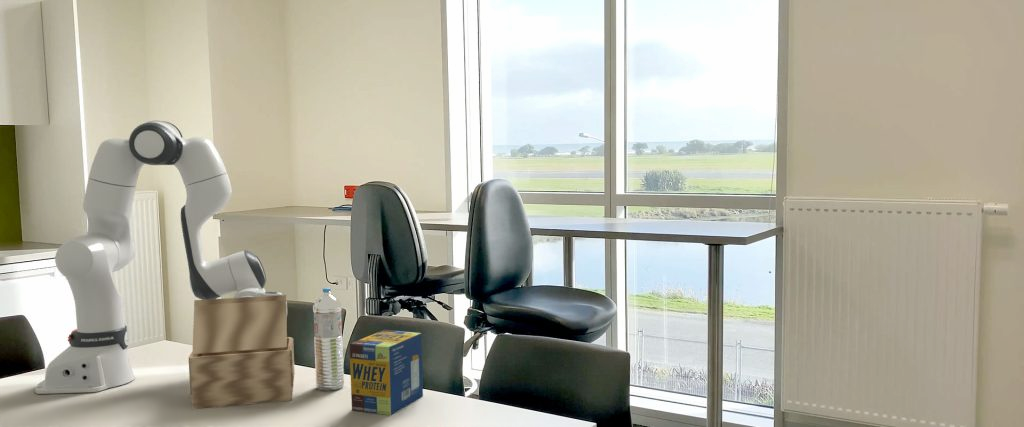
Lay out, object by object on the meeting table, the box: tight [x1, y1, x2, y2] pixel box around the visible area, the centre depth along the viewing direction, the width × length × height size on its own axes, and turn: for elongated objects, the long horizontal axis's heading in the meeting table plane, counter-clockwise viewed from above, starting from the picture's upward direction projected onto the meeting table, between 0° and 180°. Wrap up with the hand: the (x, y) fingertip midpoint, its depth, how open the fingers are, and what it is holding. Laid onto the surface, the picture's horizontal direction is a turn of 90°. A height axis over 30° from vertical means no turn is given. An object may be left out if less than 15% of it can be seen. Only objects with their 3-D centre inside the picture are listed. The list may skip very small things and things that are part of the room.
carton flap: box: [191, 294, 288, 354], centre depth 185 cm, size 21×13×1 cm
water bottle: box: [312, 287, 345, 392], centre depth 194 cm, size 7×7×25 cm
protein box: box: [349, 329, 424, 416], centre depth 181 cm, size 10×15×16 cm
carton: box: [188, 336, 296, 410], centre depth 189 cm, size 23×14×12 cm, turn 104°
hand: (243, 316), depth 191 cm, fingers closed
